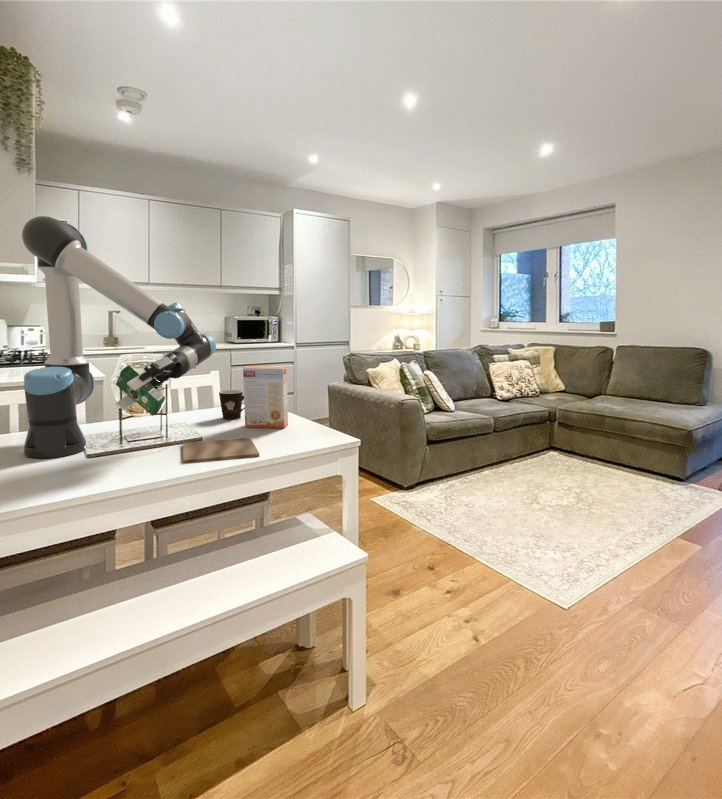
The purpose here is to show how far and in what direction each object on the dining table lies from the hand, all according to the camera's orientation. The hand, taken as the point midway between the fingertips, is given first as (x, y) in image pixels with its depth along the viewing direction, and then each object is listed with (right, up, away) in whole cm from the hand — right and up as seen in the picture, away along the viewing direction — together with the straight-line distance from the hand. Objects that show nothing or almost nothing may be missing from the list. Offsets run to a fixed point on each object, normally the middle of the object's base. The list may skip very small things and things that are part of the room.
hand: (125, 396), depth 130 cm
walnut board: (+21, -16, +14) cm, 29 cm away
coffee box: (+7, -3, +5) cm, 9 cm away
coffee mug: (+15, -8, +56) cm, 58 cm away
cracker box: (+29, -10, +44) cm, 54 cm away
